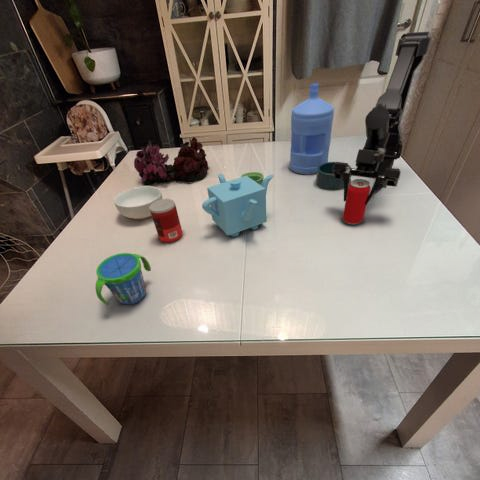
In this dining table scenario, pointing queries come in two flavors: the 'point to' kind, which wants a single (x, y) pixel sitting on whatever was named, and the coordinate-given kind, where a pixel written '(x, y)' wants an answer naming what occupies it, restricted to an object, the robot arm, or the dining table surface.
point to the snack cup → (122, 277)
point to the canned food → (166, 220)
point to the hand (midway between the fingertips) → (355, 202)
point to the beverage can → (356, 201)
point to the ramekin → (255, 176)
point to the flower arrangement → (183, 170)
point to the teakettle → (237, 204)
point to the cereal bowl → (137, 201)
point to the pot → (328, 177)
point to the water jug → (310, 133)
